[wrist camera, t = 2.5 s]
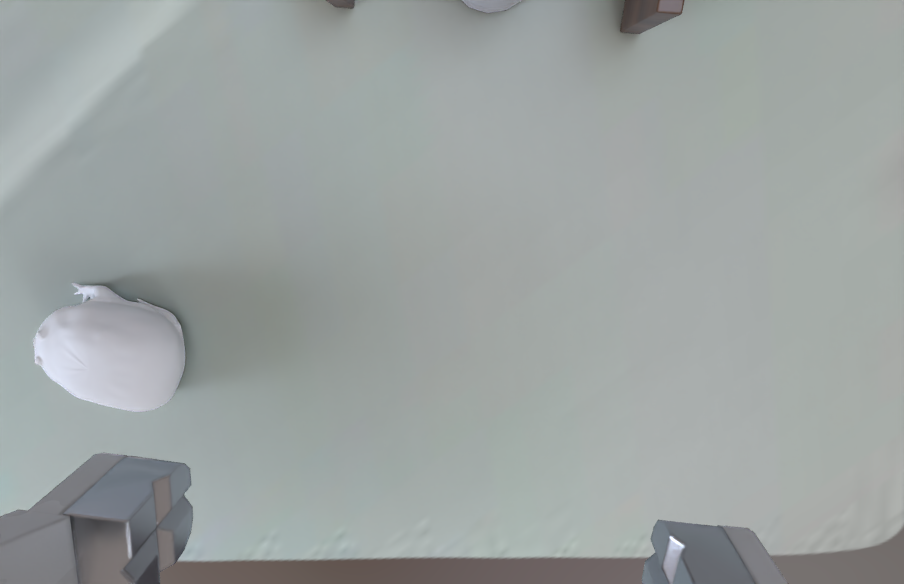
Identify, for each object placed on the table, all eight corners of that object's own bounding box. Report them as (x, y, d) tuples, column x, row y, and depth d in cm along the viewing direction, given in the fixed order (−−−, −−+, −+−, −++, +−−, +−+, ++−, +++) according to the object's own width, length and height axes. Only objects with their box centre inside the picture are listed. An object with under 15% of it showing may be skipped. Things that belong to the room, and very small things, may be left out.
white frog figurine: (59, 372, 35) (11, 402, 31) (66, 271, 33) (15, 291, 29) (186, 407, 35) (153, 441, 31) (202, 309, 33) (168, 333, 29)
